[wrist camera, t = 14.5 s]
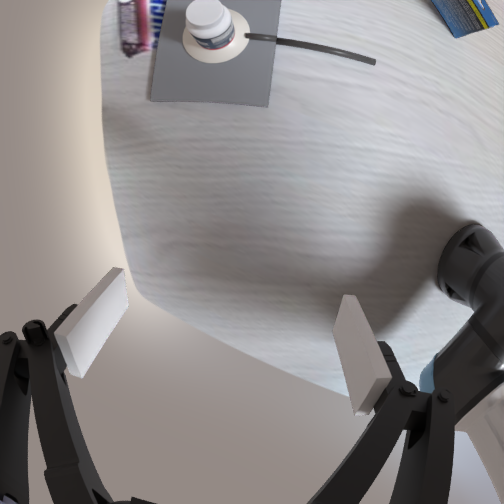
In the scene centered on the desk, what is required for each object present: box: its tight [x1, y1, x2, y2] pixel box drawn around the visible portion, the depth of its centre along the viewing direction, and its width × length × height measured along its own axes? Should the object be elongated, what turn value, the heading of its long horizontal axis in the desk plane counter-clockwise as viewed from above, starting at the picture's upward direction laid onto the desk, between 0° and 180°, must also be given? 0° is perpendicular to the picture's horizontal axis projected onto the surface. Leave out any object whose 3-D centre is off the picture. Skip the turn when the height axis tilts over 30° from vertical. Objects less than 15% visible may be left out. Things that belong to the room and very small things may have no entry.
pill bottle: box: [186, 0, 235, 51], centre depth 25 cm, size 5×5×9 cm
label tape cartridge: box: [432, 0, 499, 38], centre depth 19 cm, size 9×4×12 cm, turn 32°
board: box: [150, 0, 376, 107], centre depth 30 cm, size 30×20×2 cm, turn 83°
